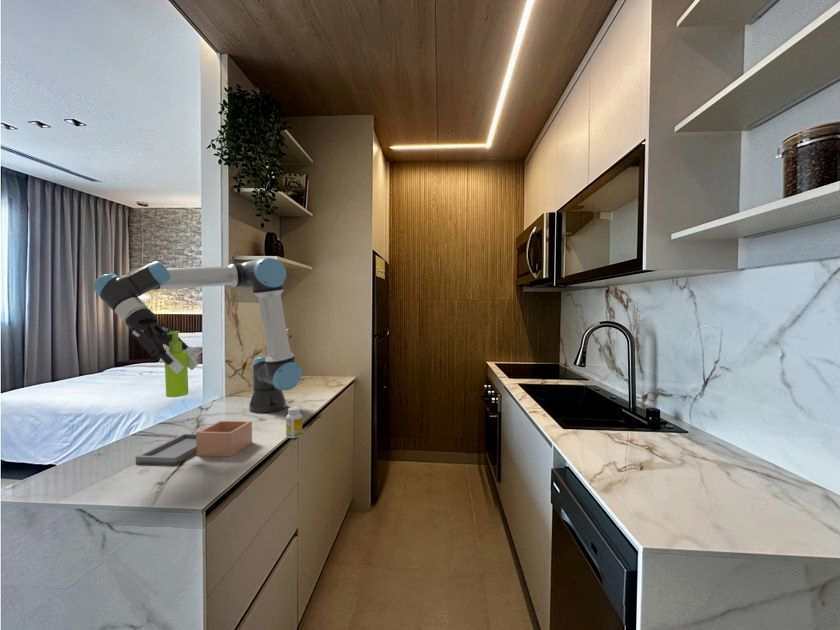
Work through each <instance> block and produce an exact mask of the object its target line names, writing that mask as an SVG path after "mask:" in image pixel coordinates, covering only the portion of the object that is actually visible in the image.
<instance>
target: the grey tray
mask: <svg viewBox="0 0 840 630" xmlns="http://www.w3.org/2000/svg"><path fill="white" fill-rule="evenodd" d="M195 454H197V446H196V433H182V434H180V435H178V436H176V437H174V438H171V439H169V440H167V441H166V442H163V443H162V444H161V443H160V444H159V445H158V446H155V447H153V448H151V449H149V450H147V451H145V452H143V453H140V454H139V455H137V456H135V465H139V464H140V465H161V466H162V465H164V466H165V465H166V466H168V465H169V466H176V465H178V464H180V463H181V462H183V461H184V460H187V459H188V458H190V457H191V456H193V455H195ZM186 458H187V459H186ZM179 462H180V463H179Z"/></svg>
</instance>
